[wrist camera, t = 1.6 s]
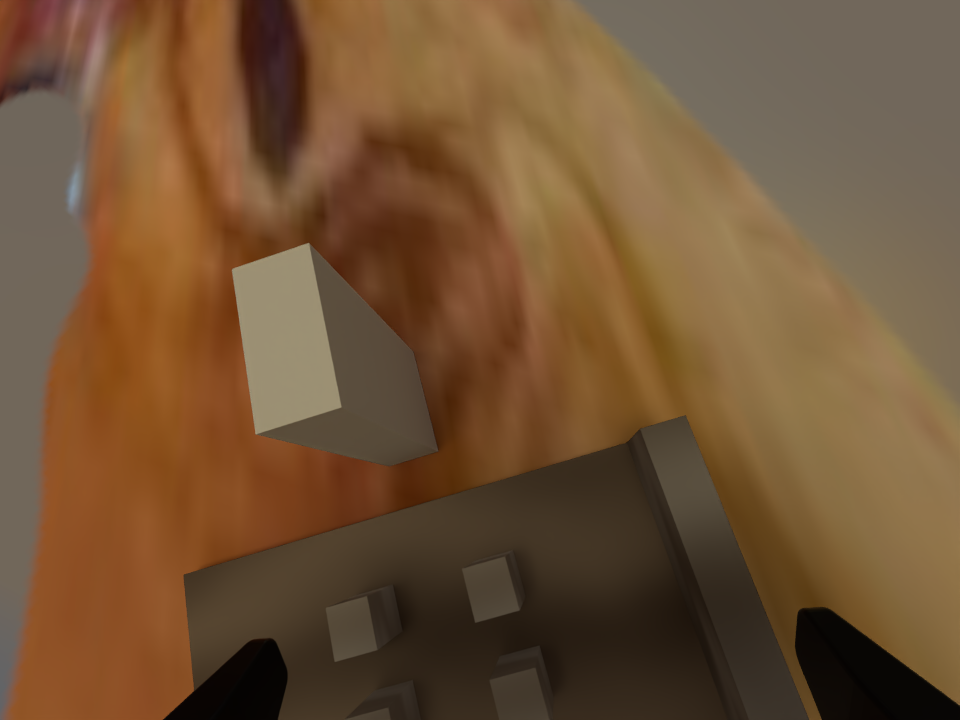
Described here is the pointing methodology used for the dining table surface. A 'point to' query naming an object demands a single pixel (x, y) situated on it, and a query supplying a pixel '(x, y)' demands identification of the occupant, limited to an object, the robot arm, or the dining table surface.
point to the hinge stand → (516, 602)
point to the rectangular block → (327, 363)
